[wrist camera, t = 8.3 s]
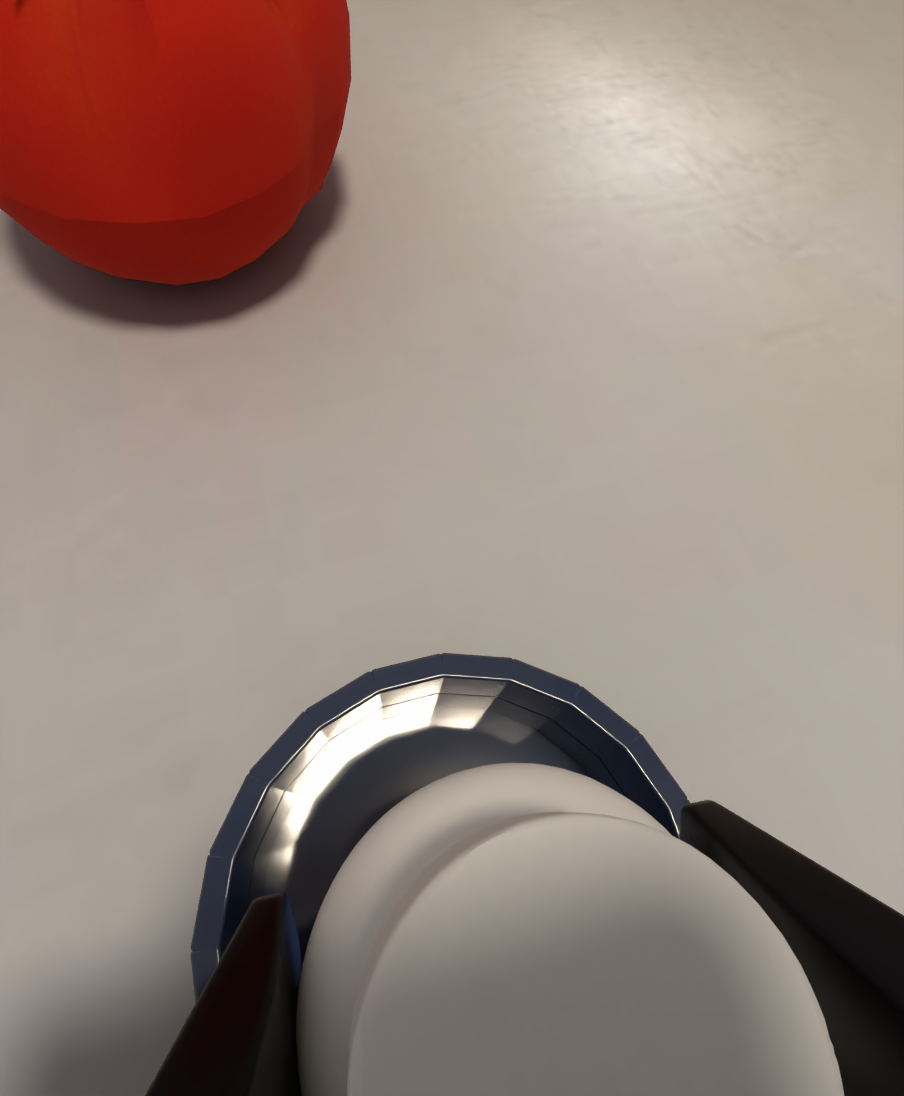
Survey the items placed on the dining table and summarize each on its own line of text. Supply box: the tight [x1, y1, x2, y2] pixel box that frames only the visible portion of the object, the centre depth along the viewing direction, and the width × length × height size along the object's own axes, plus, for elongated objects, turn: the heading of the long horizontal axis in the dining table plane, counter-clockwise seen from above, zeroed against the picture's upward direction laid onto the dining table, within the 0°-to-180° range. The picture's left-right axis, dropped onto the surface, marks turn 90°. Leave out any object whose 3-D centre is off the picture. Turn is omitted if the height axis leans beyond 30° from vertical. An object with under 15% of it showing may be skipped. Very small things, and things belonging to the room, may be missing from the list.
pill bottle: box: [296, 763, 844, 1096], centre depth 9 cm, size 6×5×10 cm
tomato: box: [0, 0, 351, 285], centre depth 22 cm, size 13×14×12 cm
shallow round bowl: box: [191, 653, 690, 1004], centre depth 16 cm, size 11×11×4 cm
